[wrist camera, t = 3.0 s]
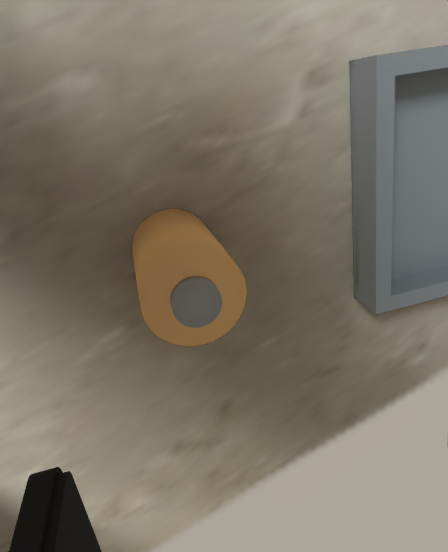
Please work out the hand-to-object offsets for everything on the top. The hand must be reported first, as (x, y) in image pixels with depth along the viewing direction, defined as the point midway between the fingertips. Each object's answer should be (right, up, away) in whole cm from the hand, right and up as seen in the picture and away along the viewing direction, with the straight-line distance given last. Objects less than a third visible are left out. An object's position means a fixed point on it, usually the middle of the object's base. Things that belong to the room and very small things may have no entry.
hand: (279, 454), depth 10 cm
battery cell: (-4, +6, +14) cm, 15 cm away
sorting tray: (+13, +11, +16) cm, 23 cm away
